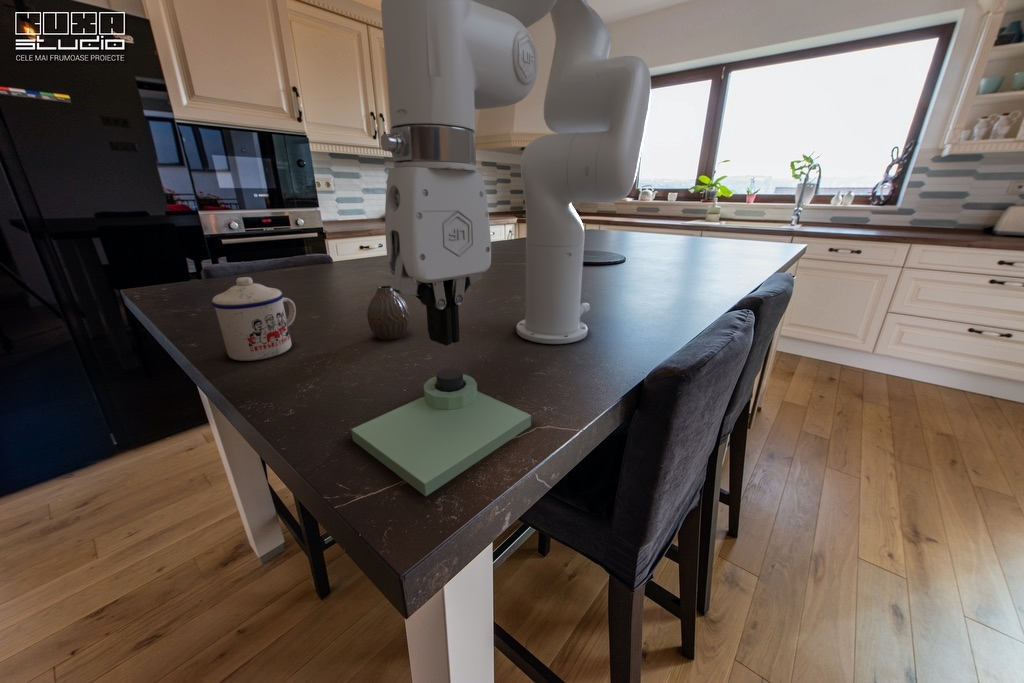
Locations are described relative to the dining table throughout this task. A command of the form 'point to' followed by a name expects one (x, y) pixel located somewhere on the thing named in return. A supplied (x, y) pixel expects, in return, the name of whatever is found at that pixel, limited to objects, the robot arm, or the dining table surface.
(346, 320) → the dining table surface
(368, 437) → the scale
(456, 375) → the button
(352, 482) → the dining table surface
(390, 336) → the vase
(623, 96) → the robot arm
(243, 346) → the teacup with lid
